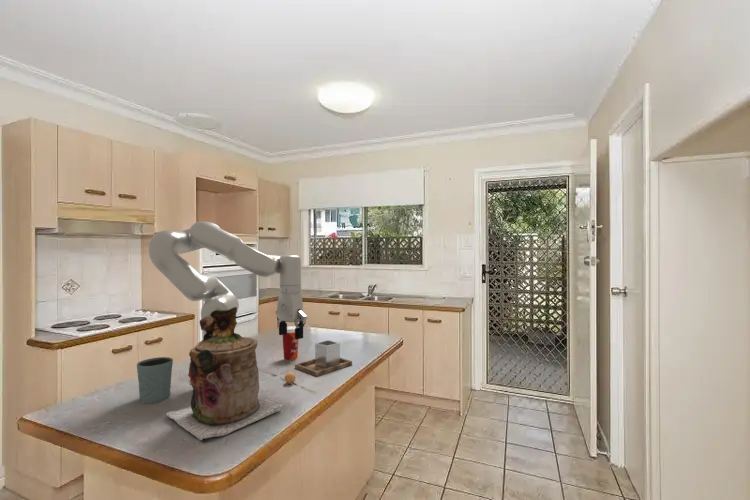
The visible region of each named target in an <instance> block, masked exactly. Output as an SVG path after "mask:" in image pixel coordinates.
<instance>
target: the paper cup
mask: <svg viewBox="0 0 750 500" xmlns="http://www.w3.org/2000/svg"><path fill="white" fill-rule="evenodd" d="M295 328H296V326H295V325H293V326H291V325H290V326H288V325H287V334H284V335H281V336H282V347H283V349H282V350H283V359H284V360H288V361H289V360H290V361H291V360H292V361H293V360H296V359H298V356H299V355H298V353H299V339H297V340H296V339H295Z"/></svg>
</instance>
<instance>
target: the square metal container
mask: <svg viewBox="0 0 750 500" xmlns="http://www.w3.org/2000/svg"><path fill="white" fill-rule="evenodd" d="M340 344H341V343H340V342H337V341H334V340H330V339H327V340H324V341H323V340H322V341H319V342H315V343H314V347H315V349H314V350H315V353H314V354H315V358H314V359H315V365H316V366H318V367H321V368H324V369H326V368H329V367H332V366H335V365H338V364H340V358H341V357H340V356H341V354H340V353H341V352H340V351H341V345H340Z"/></svg>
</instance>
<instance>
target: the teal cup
mask: <svg viewBox="0 0 750 500" xmlns="http://www.w3.org/2000/svg"><path fill="white" fill-rule="evenodd" d="M173 363H174V359H173V358H172V357H166V356H164V357H163V356H161V357H151V358H148V359H143V360H141V361H139V362H137V364H136V369H137V381H138V392H139V401H141V402H144V403H143V404H154V402H156V403H160V402H162V400H163V401H165V400H167V399H169V398H170V396H171V387H172V384H171V383H172V375H173V374H172V371H173ZM168 397H169V398H168ZM159 401H160V402H159ZM141 402H140V403H141Z"/></svg>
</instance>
